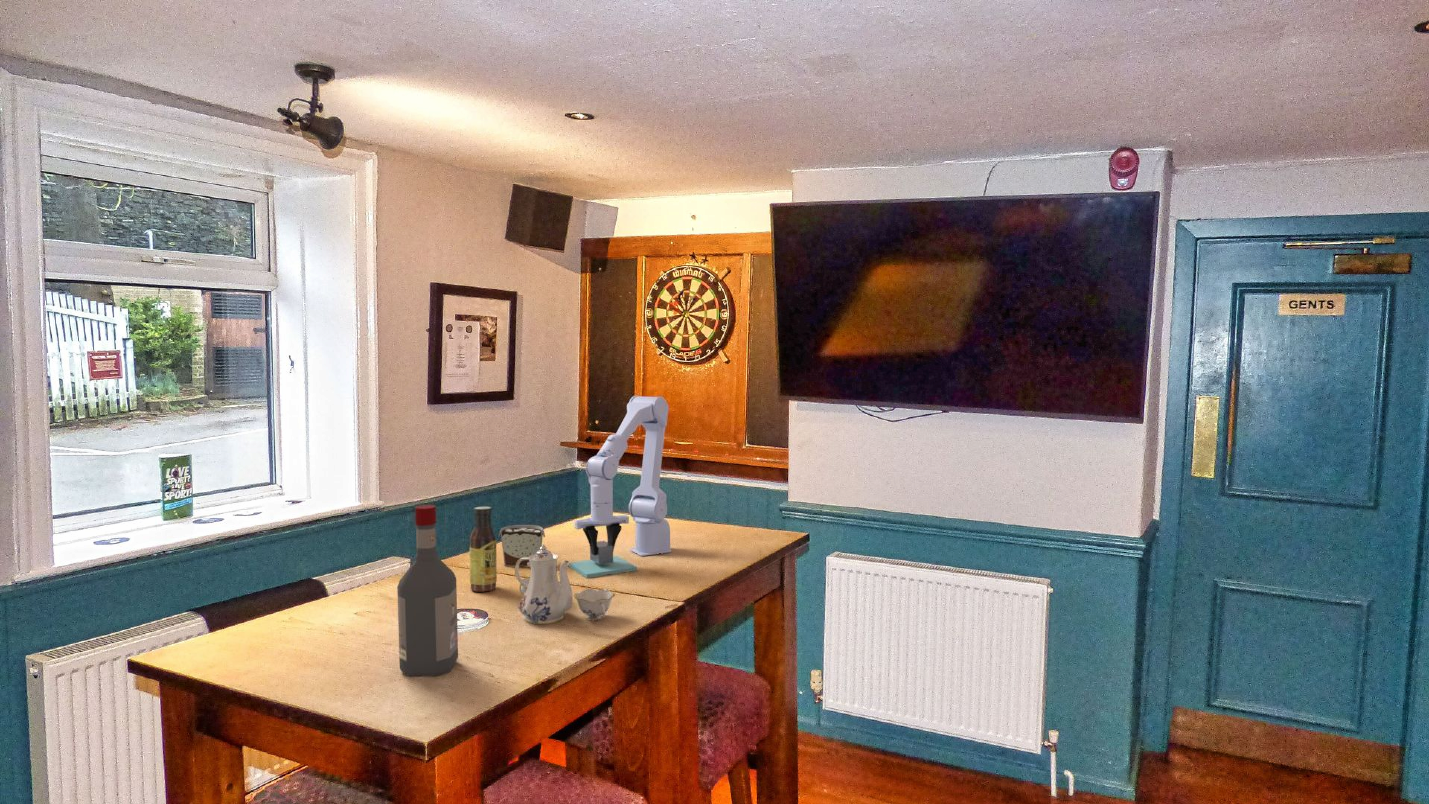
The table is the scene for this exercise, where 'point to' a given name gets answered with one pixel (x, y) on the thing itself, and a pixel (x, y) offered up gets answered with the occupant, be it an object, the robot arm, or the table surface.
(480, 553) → the sauce bottle
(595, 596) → the chinaware
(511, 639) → the table surface
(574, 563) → the teal board
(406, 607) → the liquor
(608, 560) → the block
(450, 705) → the table surface
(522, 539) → the food container
